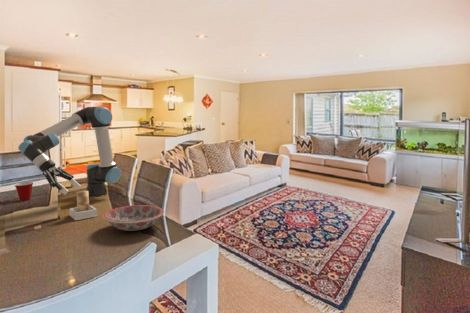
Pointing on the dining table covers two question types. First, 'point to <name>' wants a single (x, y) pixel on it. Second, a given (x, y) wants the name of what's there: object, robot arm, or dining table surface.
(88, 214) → the square tray
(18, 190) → the plastic cup
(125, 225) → the ceramic bowl
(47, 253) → the dining table surface
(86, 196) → the oak rail post
